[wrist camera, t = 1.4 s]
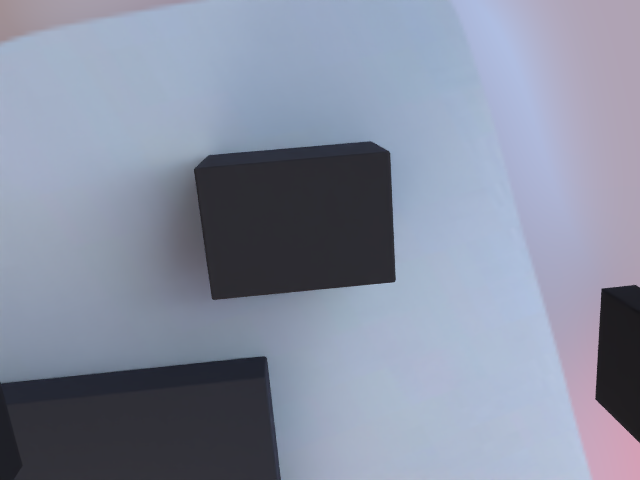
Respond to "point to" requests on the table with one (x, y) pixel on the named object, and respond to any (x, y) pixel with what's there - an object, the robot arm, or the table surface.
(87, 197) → the table surface
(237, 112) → the table surface
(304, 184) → the black pad
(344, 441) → the table surface
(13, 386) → the charcoal pad
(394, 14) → the table surface
